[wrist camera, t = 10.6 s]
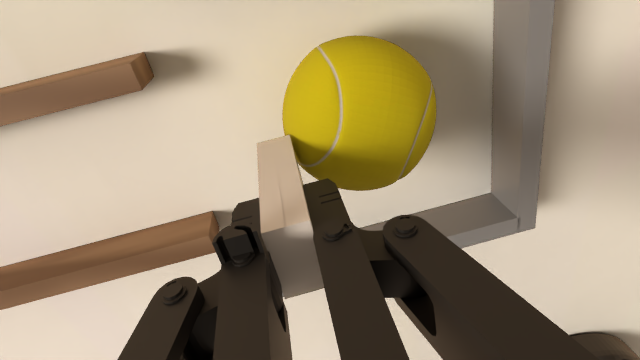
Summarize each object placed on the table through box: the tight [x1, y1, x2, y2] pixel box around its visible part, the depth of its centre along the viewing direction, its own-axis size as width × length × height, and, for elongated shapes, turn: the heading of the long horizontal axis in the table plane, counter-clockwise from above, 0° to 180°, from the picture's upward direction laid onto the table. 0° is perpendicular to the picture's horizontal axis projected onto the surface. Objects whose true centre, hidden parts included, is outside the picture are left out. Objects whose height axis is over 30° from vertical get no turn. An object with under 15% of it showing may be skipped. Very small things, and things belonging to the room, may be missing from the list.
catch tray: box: [282, 0, 555, 297], centre depth 20 cm, size 19×17×3 cm
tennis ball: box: [283, 36, 436, 191], centre depth 18 cm, size 7×7×7 cm
